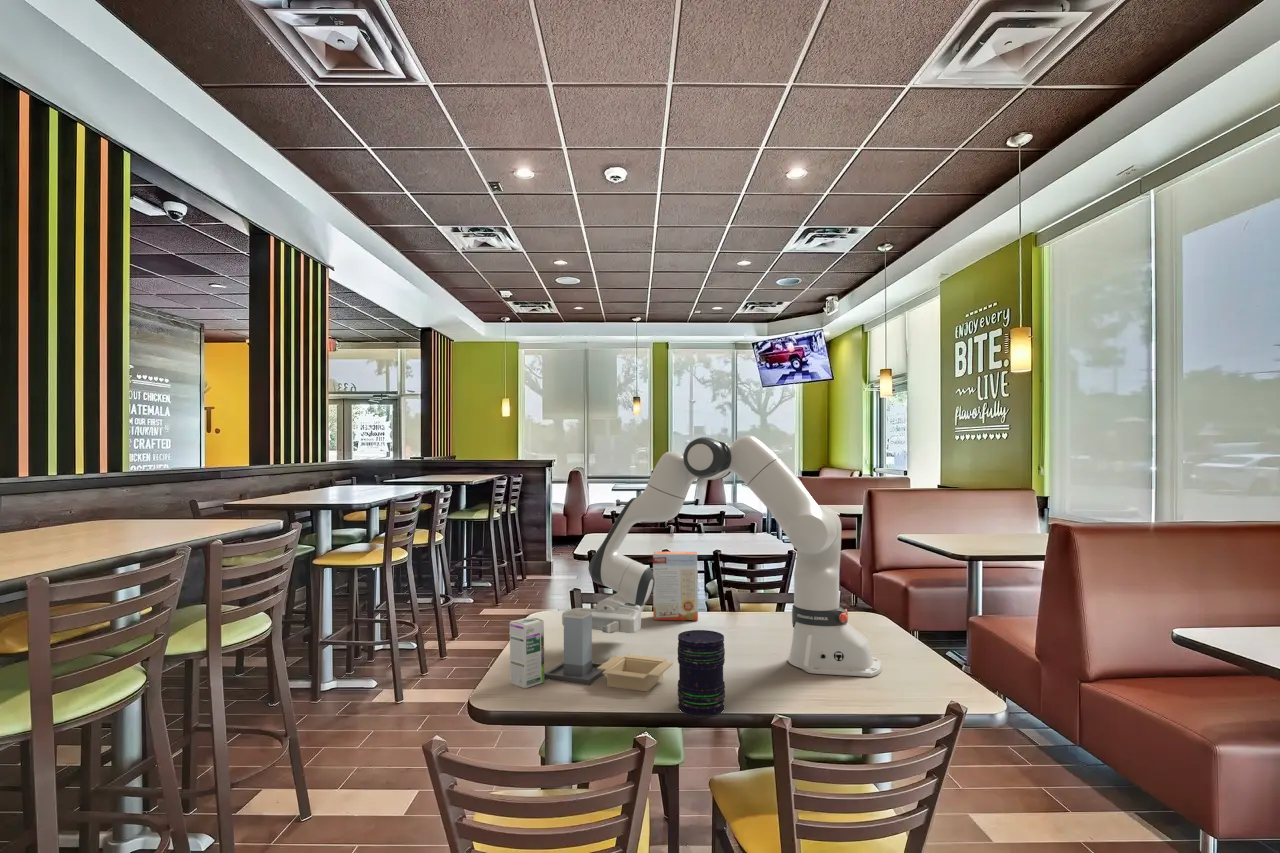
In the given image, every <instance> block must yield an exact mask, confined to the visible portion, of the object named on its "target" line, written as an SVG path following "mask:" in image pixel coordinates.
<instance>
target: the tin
mask: <svg viewBox="0 0 1280 853" xmlns="http://www.w3.org/2000/svg"><path fill="white" fill-rule="evenodd" d="M562 614H563V613H562ZM563 617H564V626H563V662H564V663H563V672H564V674H571V675H578V676H584V675H585V674H587V673H588V672H590V671H591V670H592V663H593V629H592V611H581V610H572V611H570V612H568V613H565V614H563Z"/></svg>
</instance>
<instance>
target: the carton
mask: <svg viewBox="0 0 1280 853" xmlns="http://www.w3.org/2000/svg"><path fill="white" fill-rule="evenodd" d="M667 660H668V658H664V657H655V656H647V655H638V654H631V653H628V654H626V655H625V656H619V655H614V656H613V657H611V658H610V659H608V660H606V661H604V663H601V664H602V665H601V666H599V667H598V668H597V669H599V670H605V671H604V672H602V674H604V675H606V686H607V687H612V688H618V689H619V688H620V689H626V690H635V691H642V692H649V691H651V689H652V688H654V686H656V685H657V684H659V682H660V681H661V680H663V679H664V672H666V671H667V670H669V668H671V666H673V665H674V662H670V661H667Z"/></svg>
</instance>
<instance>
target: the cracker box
mask: <svg viewBox="0 0 1280 853" xmlns="http://www.w3.org/2000/svg"><path fill="white" fill-rule="evenodd" d="M652 572H653V576H654V581H655V584H654V588H653V592H652V595H653V596H652V600H653V602H652V604H653V605H652V606H653V621H685V620H692V621H696V622H697V621H699V593H698V592H699V590H698V588H699V587H698V585H699V584H698V583H699V582H698V578H699V577H698V574H699V573H698V552H697V551H654V552H653V554H652Z"/></svg>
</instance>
